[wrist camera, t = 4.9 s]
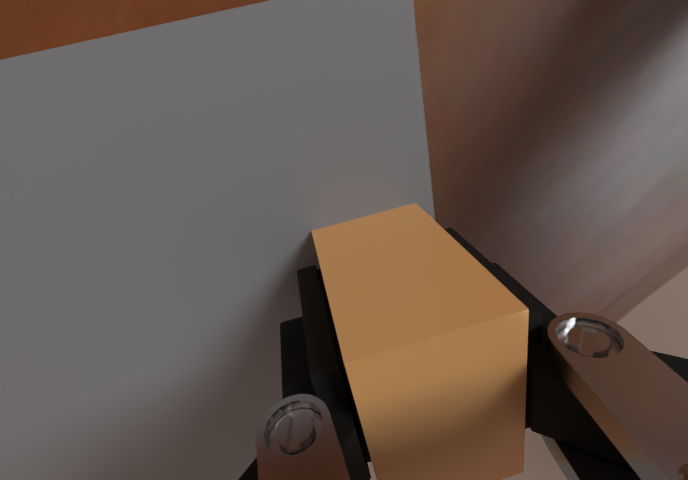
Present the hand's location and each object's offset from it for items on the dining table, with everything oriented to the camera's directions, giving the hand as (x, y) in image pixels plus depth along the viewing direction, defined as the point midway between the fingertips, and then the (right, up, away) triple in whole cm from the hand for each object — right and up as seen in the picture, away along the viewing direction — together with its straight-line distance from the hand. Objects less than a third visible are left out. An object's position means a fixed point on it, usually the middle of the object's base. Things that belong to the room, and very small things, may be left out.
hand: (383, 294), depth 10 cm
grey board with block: (-8, -1, +2) cm, 8 cm away
